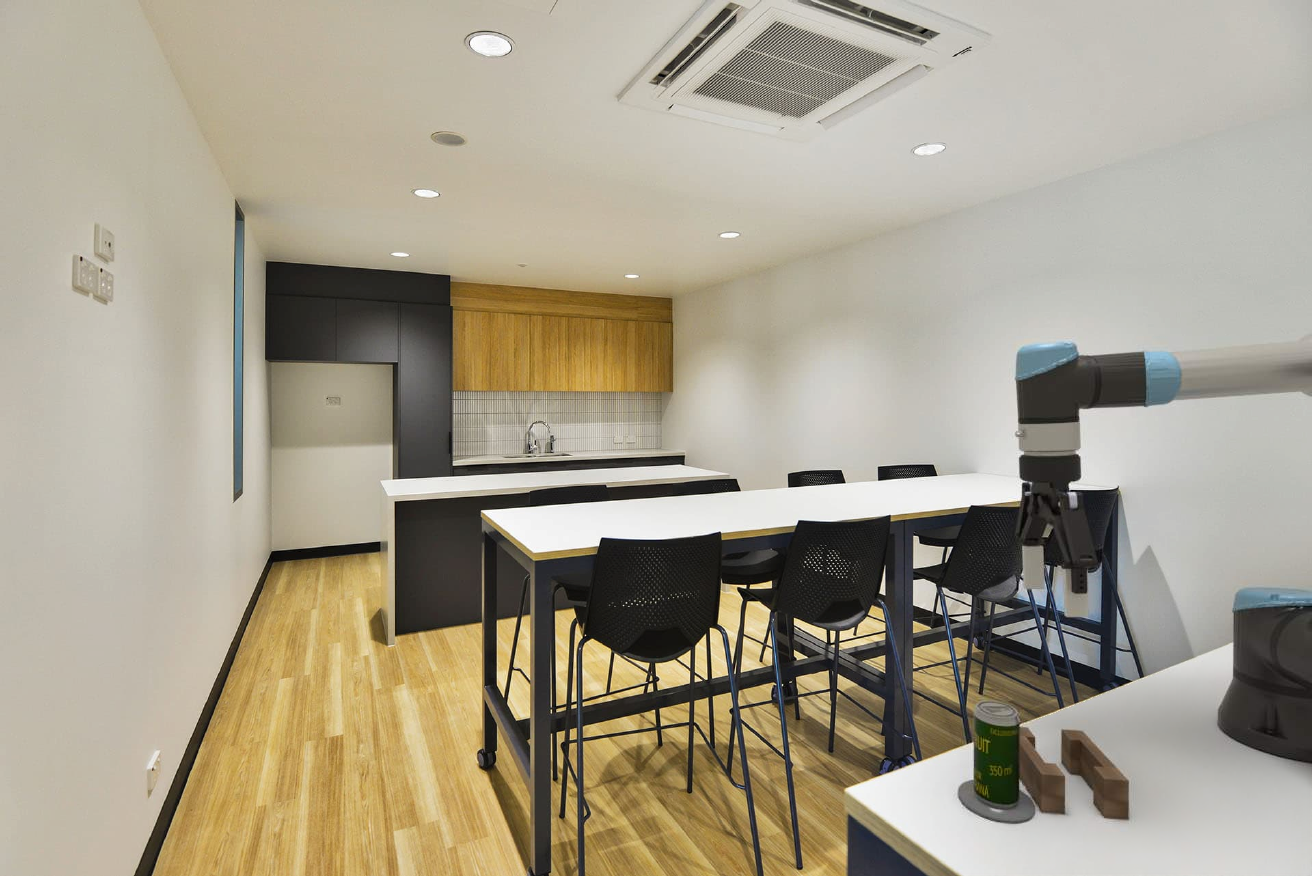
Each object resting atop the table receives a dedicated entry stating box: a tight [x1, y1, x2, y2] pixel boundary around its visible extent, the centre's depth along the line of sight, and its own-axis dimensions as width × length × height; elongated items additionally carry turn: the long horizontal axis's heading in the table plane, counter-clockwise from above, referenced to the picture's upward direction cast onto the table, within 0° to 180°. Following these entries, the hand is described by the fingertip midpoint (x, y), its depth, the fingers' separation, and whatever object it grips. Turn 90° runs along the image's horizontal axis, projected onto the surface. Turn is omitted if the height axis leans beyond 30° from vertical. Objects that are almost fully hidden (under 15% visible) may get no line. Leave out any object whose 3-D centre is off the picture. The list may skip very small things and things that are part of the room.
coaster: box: [957, 779, 1036, 824], centre depth 87 cm, size 9×9×1 cm
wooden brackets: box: [1020, 726, 1130, 821], centre depth 90 cm, size 10×13×5 cm
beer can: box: [973, 700, 1021, 809], centre depth 87 cm, size 5×5×12 cm
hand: (1053, 601), depth 94 cm, fingers open, 13 cm apart
